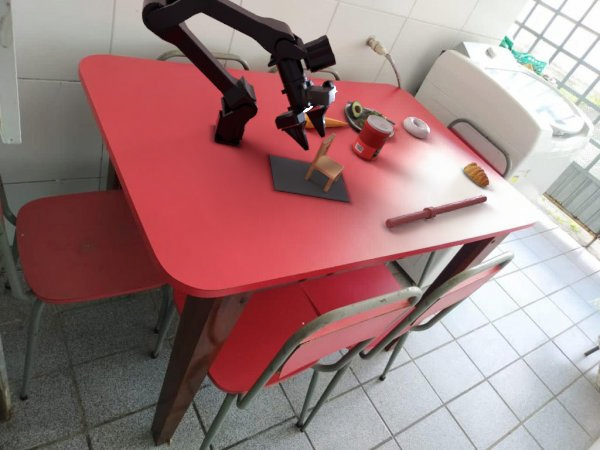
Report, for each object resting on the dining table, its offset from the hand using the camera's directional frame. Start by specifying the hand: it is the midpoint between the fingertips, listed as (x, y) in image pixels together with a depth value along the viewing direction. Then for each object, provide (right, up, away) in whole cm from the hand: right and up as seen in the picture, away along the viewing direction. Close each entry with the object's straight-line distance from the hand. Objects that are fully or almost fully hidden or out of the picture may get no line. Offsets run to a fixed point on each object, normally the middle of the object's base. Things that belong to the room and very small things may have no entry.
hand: (315, 143), depth 101 cm
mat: (-2, -8, +4) cm, 9 cm away
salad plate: (+18, +14, +37) cm, 43 cm away
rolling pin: (+35, -17, +15) cm, 42 cm away
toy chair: (+2, -8, +5) cm, 10 cm away
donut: (+37, +14, +46) cm, 61 cm away
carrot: (+7, +12, +27) cm, 30 cm away
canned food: (+15, +1, +23) cm, 27 cm away
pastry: (+55, -4, +38) cm, 67 cm away
